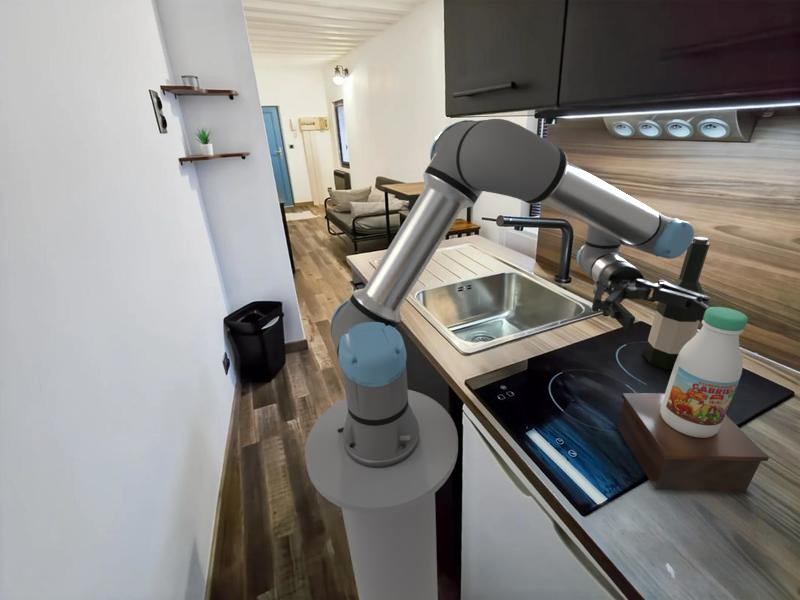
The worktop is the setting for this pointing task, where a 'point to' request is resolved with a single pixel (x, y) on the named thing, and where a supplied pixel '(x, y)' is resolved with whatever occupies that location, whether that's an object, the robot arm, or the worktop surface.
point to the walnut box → (686, 450)
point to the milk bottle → (705, 375)
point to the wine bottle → (677, 312)
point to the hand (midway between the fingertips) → (674, 324)
